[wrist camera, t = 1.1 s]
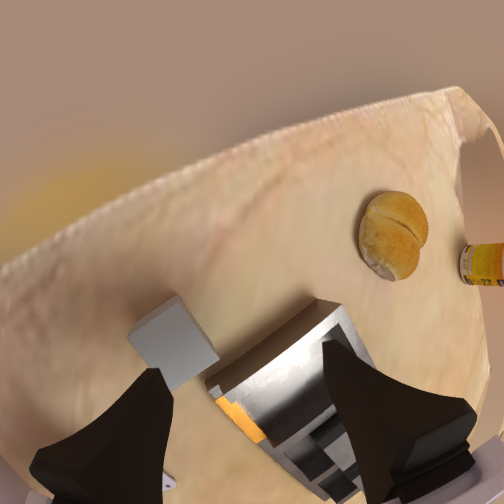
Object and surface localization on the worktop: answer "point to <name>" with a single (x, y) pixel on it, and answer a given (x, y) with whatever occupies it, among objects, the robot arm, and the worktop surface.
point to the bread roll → (393, 234)
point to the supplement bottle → (483, 264)
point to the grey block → (173, 342)
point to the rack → (296, 400)
